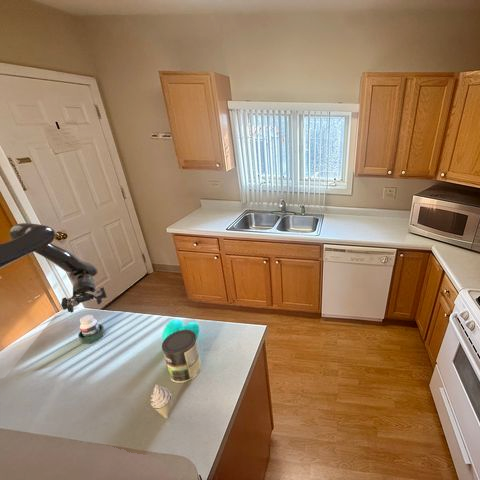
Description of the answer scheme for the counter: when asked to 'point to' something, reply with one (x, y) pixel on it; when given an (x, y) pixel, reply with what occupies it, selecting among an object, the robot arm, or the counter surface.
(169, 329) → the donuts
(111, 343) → the counter surface
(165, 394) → the ice cream cone
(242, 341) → the counter surface
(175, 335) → the coffee can
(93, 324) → the pill bottle
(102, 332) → the tin
